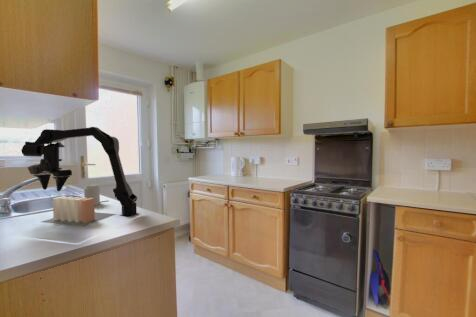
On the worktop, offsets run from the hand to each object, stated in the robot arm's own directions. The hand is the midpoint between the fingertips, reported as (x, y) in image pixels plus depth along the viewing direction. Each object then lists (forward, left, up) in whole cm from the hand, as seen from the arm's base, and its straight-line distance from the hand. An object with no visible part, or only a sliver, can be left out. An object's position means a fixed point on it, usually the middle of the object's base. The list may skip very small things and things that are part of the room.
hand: (51, 190), depth 107 cm
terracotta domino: (-20, -4, -13) cm, 24 cm away
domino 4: (-16, -3, -13) cm, 21 cm away
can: (+8, -24, -14) cm, 29 cm away
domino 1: (-4, -1, -13) cm, 14 cm away
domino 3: (-12, -2, -13) cm, 18 cm away
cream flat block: (-8, -2, -13) cm, 15 cm away
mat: (-11, -5, -14) cm, 19 cm away
